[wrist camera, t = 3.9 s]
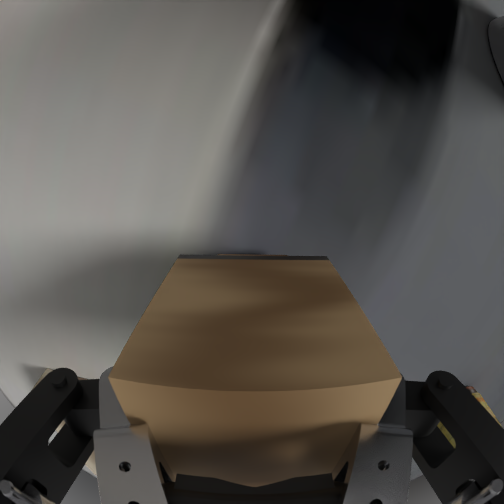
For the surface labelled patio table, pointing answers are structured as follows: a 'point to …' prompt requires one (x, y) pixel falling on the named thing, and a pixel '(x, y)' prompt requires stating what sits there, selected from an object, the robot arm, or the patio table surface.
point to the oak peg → (253, 368)
